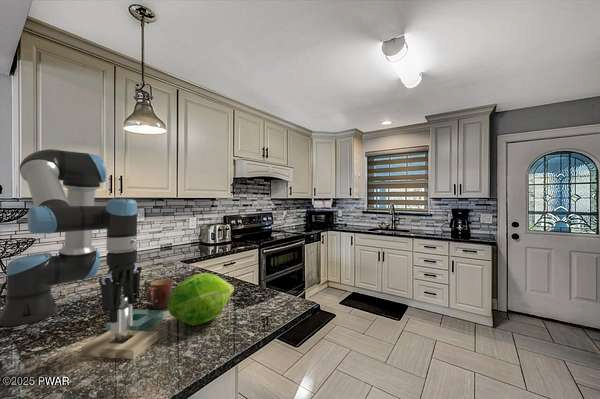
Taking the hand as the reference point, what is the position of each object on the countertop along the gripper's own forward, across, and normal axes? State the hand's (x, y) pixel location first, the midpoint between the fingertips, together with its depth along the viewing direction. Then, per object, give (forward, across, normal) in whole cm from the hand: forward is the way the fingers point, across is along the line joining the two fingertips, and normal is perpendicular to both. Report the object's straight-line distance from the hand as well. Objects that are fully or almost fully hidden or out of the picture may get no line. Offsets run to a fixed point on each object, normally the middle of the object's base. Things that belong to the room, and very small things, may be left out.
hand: (121, 328), depth 76 cm
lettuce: (+6, +19, -16) cm, 26 cm away
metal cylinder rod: (+5, 0, 0) cm, 5 cm away
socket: (+6, +13, +6) cm, 15 cm away
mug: (+6, +28, +8) cm, 30 cm away
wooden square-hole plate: (+6, 0, 0) cm, 6 cm away
